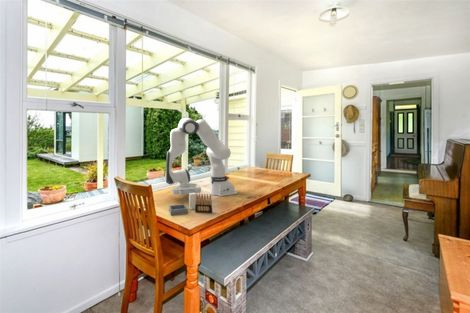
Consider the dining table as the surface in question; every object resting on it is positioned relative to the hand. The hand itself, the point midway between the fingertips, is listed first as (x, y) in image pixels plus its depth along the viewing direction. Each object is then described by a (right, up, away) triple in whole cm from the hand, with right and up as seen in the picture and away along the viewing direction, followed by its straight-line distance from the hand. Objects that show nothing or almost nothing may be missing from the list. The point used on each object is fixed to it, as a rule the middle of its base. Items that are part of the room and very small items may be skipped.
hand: (188, 192), depth 175 cm
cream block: (+5, -9, -10) cm, 14 cm away
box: (-4, -9, -17) cm, 20 cm away
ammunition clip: (+13, -10, -18) cm, 24 cm away
